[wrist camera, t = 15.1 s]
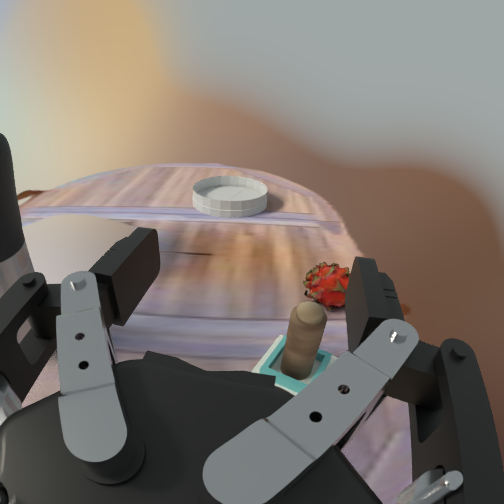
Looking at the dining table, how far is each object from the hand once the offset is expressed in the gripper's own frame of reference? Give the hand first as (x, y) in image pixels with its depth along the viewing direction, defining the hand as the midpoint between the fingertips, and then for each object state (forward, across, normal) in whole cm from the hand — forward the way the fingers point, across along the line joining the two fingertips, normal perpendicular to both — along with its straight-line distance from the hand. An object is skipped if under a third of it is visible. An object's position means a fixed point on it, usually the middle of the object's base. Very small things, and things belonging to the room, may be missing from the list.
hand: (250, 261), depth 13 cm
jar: (+19, -5, +29) cm, 35 cm away
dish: (+77, +18, +30) cm, 85 cm away
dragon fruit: (+37, -10, +30) cm, 49 cm away
